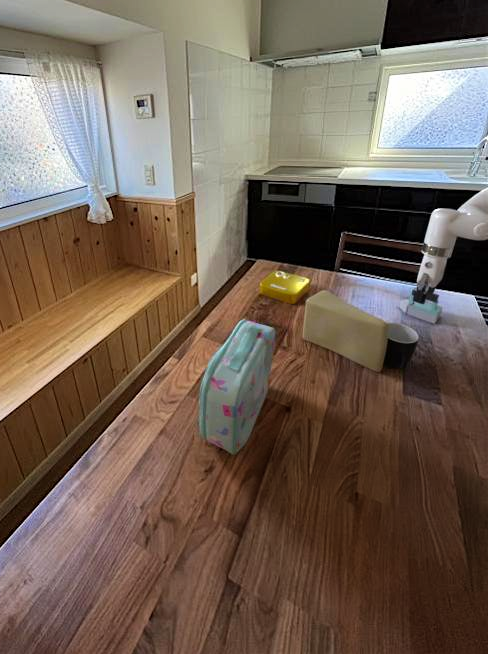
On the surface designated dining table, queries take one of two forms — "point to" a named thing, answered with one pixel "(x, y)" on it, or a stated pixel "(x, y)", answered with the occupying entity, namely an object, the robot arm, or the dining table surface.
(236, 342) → the lunch box
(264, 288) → the element tile
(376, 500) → the dining table surface
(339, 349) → the cheese
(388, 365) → the mug
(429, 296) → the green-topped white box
